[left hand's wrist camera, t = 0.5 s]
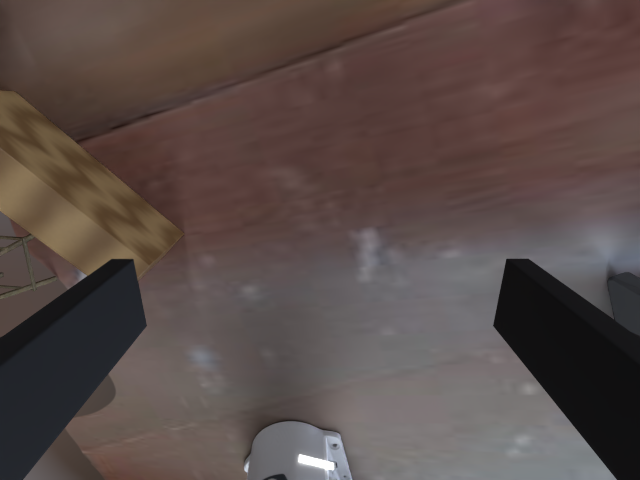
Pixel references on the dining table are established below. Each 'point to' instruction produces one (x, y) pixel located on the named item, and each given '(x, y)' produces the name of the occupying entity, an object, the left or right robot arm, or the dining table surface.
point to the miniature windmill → (33, 285)
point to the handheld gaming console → (626, 300)
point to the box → (73, 196)
